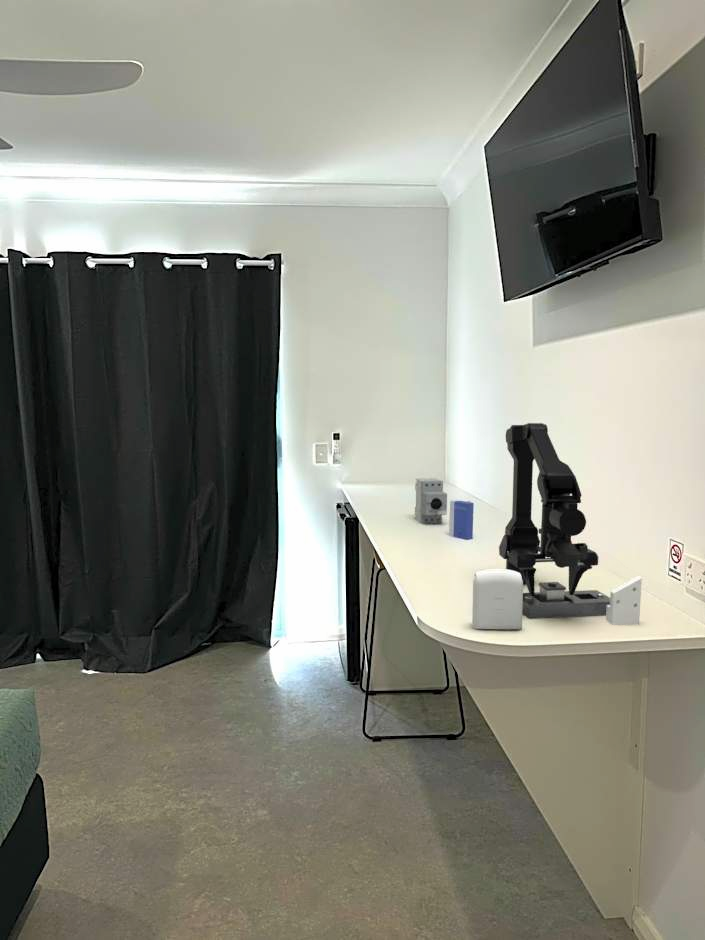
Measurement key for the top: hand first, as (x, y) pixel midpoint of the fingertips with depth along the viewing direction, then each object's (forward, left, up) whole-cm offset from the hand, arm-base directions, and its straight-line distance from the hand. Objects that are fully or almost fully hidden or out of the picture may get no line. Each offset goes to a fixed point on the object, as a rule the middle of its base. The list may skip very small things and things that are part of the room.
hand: (551, 595), depth 168 cm
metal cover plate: (0, +3, -4) cm, 5 cm away
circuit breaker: (-103, +1, -4) cm, 103 cm away
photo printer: (+9, -16, -4) cm, 19 cm away
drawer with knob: (0, 0, -4) cm, 4 cm away
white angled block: (+9, +12, -4) cm, 16 cm away
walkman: (-78, +4, -4) cm, 78 cm away
